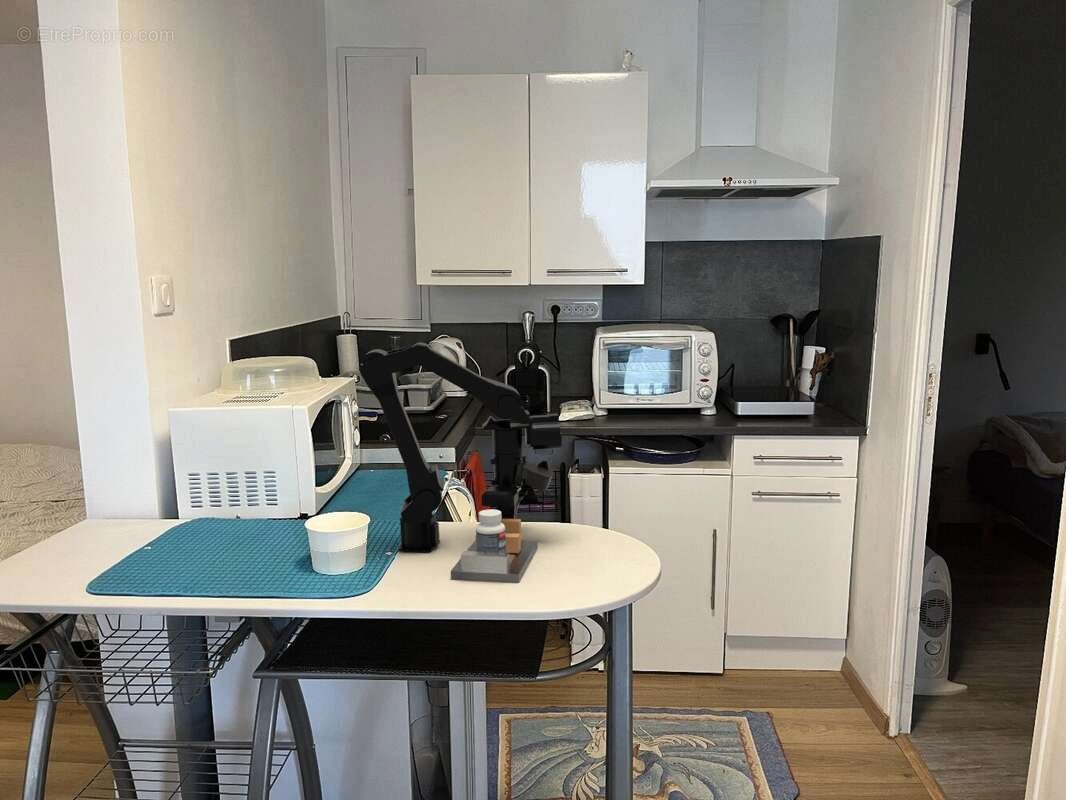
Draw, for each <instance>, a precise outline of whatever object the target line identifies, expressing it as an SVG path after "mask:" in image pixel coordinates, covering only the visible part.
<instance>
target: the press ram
mask: <svg viewBox="0 0 1066 800" xmlns="http://www.w3.org/2000/svg"><path fill="white" fill-rule="evenodd" d="M500 522H501V523H503V524H504V526H505V535H506V553H519V552H520V550H521V541H523V540H522V519H520V518H516V519H501V521H500ZM474 538H475V539H474V541H475V542H476V534H475V536H474ZM476 551H477V543H476Z"/></svg>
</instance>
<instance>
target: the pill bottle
mask: <svg viewBox="0 0 1066 800" xmlns="http://www.w3.org/2000/svg"><path fill="white" fill-rule="evenodd" d="M501 519H502V516H501V511H499V510H497V509H493V508H492V509H483V510H480V511H479V512H478V520H479V523H478V524H477V525H476V527H475V535H476V543H477V552H499V553H506V535H505V526H504V524H503V523H501V522H500V521H501Z"/></svg>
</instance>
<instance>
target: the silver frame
mask: <svg viewBox="0 0 1066 800" xmlns="http://www.w3.org/2000/svg"><path fill="white" fill-rule="evenodd" d="M537 550H538V541H536V540H535V541H532V540H521V550H520V552H519V553H499V552H477V551H476V542H475V540H474V541H473V542H472V543H471V545H470V546H469V547H468V548H467V550H464V551H463V552H462V553H461V555H460V558H459V560H458V561H457V562H456V564H454V566H453V568H451V570H450V580H451V581H453V580H454V581H469V582H470V581H475V582H490V583H491V582H495V583H512V584H513V583H514V584H515V583H516V584H519V583H520V582H521V580H522V578H523V577H524V574H525V572H526V571H527V569H528V567H529V565H530V563H531V561H532V560H533V557H534V556H535V554H536V552H537Z"/></svg>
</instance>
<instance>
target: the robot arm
mask: <svg viewBox="0 0 1066 800" xmlns="http://www.w3.org/2000/svg"><path fill="white" fill-rule="evenodd" d="M417 366H419V367H420V366H421V367H422V368H424V369H426V370H427V371H429V372H431V373H433V374H435V375H437V376H438V377H440V378H441V379H444V380H446V381H447V382H449V383H451V384H453V385H454V386H456V387H457V388H460V389H461V390H463V391H466V392H467V393H468V394H471V395H472V396H473V397H474V398H476V399H477V400H478V401H480V402H481V404H483V405H484V406H485V407H486V408H487V409H489V410H490V411H491V412H492V413H493V414H495V415H496V416H497V417H499V418H500V419H495V418H493V416H492V415H489V417H488V418H487V420H486V421H485V422H484V423H482V430H483V431H492V454H493V455H492V457H491V458H490V465H493V478H491V482H490V483H491V486H489V487H488V489H486V490H485V491H484V493H482V495H481V506H483V507H495V510H499V511H501V516H502V519H517V514H518V510H519V506H520V502H521V501H522V500H523V498H524V497H525V496H526V495H527V494H528V492H529V491H528V490H526V489H522V488H521V487H522V486H523V484H524V485H526V486H529V487H532V488H535V489H537V491H539V492H543V493H544V492H546V491H547V489H548V488H549V486H550V484H551V481H552V478H553V476H554V470H553V469H551V466H550V465H551V464H550V461H548V460H546V459H542V460H540V462H538V463H536V462H533V463H532V462H531V463H530V462H528V456H527V455H526V453H524V452H523V450H524V449H523V446H524V445H523V429H524V438H525V439H524V440H525V446H529V447H530V448H531V451H539V450H540V451H543V450H544V451H545V450H561V449H562V447H563V445H562V442H563V437H562V436H563V434H562V431H561V424H560V416H559V414H558V413H549V414H544V415H543V414H542V415H541V414H539V415H531V414H530V412H529V410H528V409H526V408H524V406H523V400H522V398H521V396H520V393H519V391H518V390H517V389H516V388H515V387H513V386H512V385H509V384H506V383H504V382H500V381H497V380H495V379H491V378H488V377H484V376H481V375H480V374H478V373H476V372H474V371H473V370H470V369H469V368H467V367H465V366H464V365H462V364H460V363H458V362H457V361H455V360H453V359H451V358H450V357H448V356H446V355H445V354H442V353H441V352H439V351H437V350H436V349H433V348H432V347H431V346H430V345H429V344H427V343H425V342H417V343H415V344H413V345H409V346H406V347H405V346H404V347H401V348H396V349H392V350H388V351H386V350H383V349H378V348H376V349H371V350H370V351H368V352H367V353H366V354H365V355H363V356H362V358H361V359H360V362H359V364H358V370H359V374H360V376H361V377H362V380H364V383H365V384H366V385H367V387H368V388H369V390H370V391H371V393H372V394H373V395H374V397H375V398H376V399H377V400H378V402H379V405H380V407H381V410H382V412H383V415H384V418H385V420H386V422H387V424H388V427H389V429H390V432H391V435H392V437H393V440H394V442H395V444H396V447H397V449H398V452H399V455H400V457H401V460H402V463H403V465H404V467H405V472H406V477H407V478H406V479H407V484H408V490H409V495H407V497H406V498H405V499H404V500H403V503H402V507H401V511H400V516H401V517H399V525H400V526H399V527H400V528H399V529H400V544H401V545H400V546H399V547H398V549H397V550H398V552H411V553H412V552H413V553H431V552H433V550H434V549H435V548H436V547H437V546H438V544H439V543H440V542H441V539H440V527H439V525H440V523H439V522H438V521H437V516H436V513H433V512H434V511H436V510H437V509H438V508H439V507H440V505H441V504H442V501H443V492H444V488H445V480H444V479H443V478H442V477H441V475H440V472H439V467H438V464H436V463H435V464H434V465H430V464H429V463H428V461H427V460H426V459H425V457H424V455H423V452H422V450H421V449H422V448H421V446H420V443H419V441H418V439H417V436H416V434H415V430H414V429H413V426H412V424H411V421H410V419H409V416H408V414H407V410H406V408H405V406H404V403H403V401H402V398H401V396H400V393H399V387H398V382H397V374H396V373H397V372H398V373H399V372H401V371H405V370H408V369H411V368H414V367H417ZM511 419H512V420H514V421H515V422H517V423H513V422H511Z"/></svg>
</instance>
